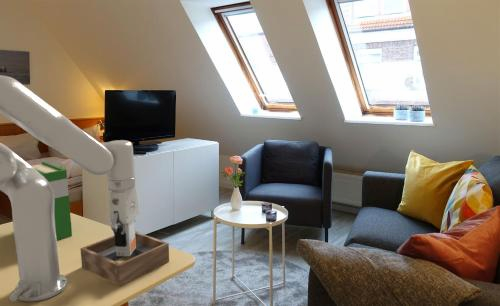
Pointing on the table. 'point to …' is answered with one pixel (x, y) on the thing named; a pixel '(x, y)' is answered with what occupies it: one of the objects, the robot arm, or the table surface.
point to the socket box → (144, 260)
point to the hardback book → (58, 197)
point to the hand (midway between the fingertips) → (125, 240)
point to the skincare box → (127, 240)
